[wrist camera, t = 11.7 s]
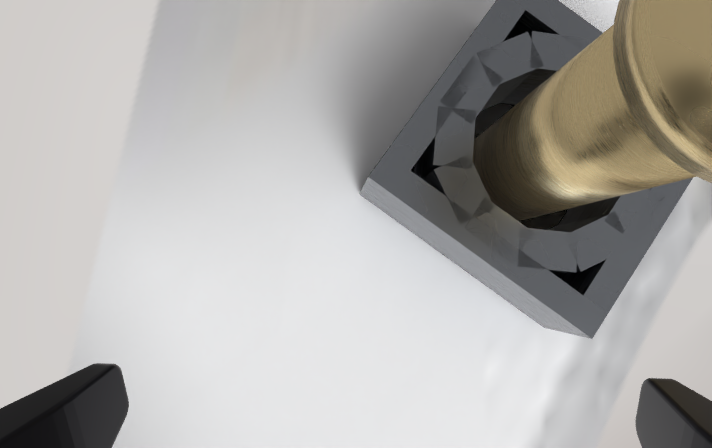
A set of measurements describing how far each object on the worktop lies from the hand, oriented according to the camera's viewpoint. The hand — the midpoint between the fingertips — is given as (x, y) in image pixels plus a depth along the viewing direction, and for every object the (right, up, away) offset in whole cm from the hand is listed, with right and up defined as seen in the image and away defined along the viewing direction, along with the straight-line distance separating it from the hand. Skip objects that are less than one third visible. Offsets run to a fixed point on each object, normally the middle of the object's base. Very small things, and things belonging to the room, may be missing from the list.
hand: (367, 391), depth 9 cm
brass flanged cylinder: (+6, +5, +12) cm, 14 cm away
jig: (+6, +5, +12) cm, 14 cm away
